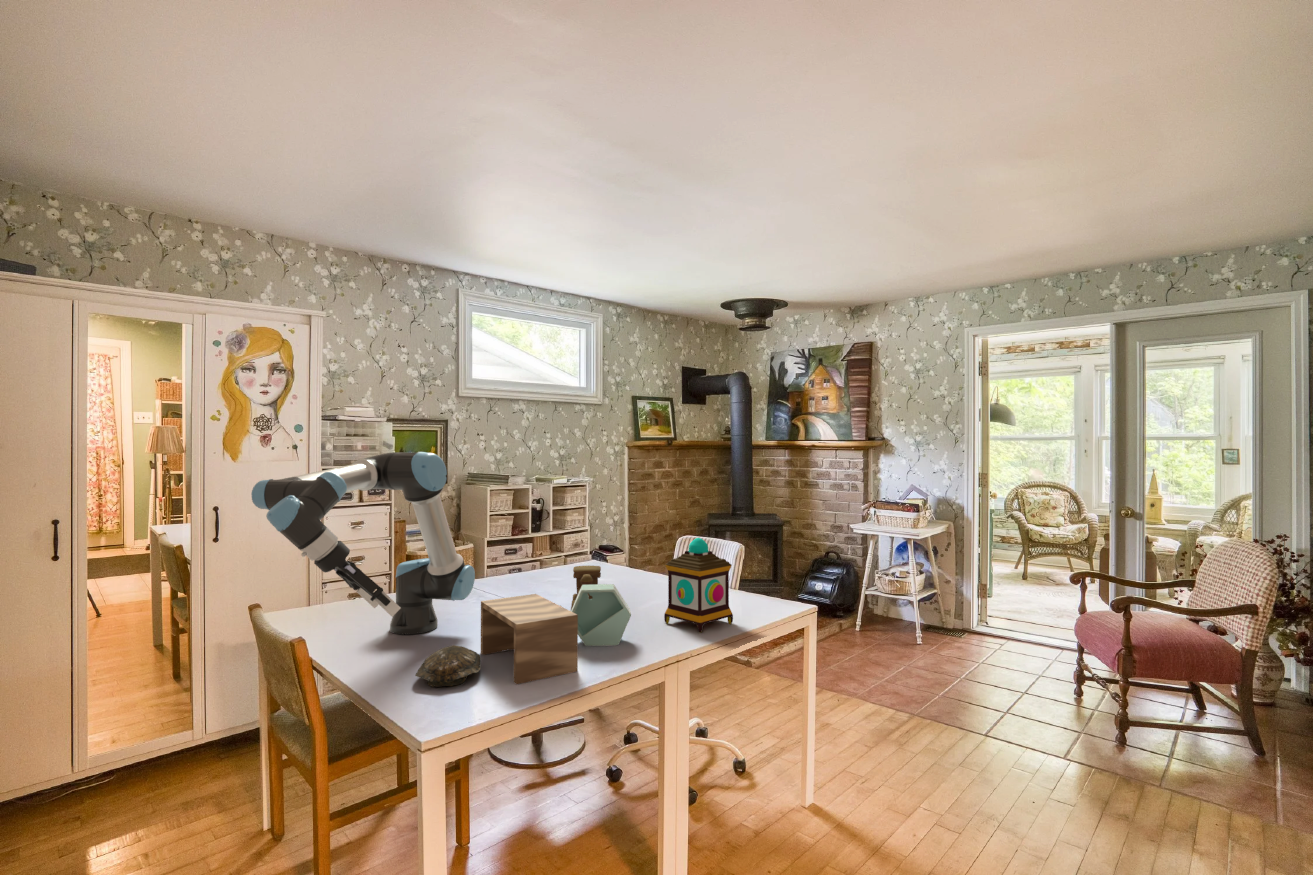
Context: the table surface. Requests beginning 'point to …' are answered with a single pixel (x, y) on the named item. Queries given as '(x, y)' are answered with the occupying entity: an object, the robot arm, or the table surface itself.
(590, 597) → the wooden toy train
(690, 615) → the decorative lantern
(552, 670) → the walnut shelf
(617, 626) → the planter
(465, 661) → the turtle shell
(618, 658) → the table surface
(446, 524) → the robot arm
